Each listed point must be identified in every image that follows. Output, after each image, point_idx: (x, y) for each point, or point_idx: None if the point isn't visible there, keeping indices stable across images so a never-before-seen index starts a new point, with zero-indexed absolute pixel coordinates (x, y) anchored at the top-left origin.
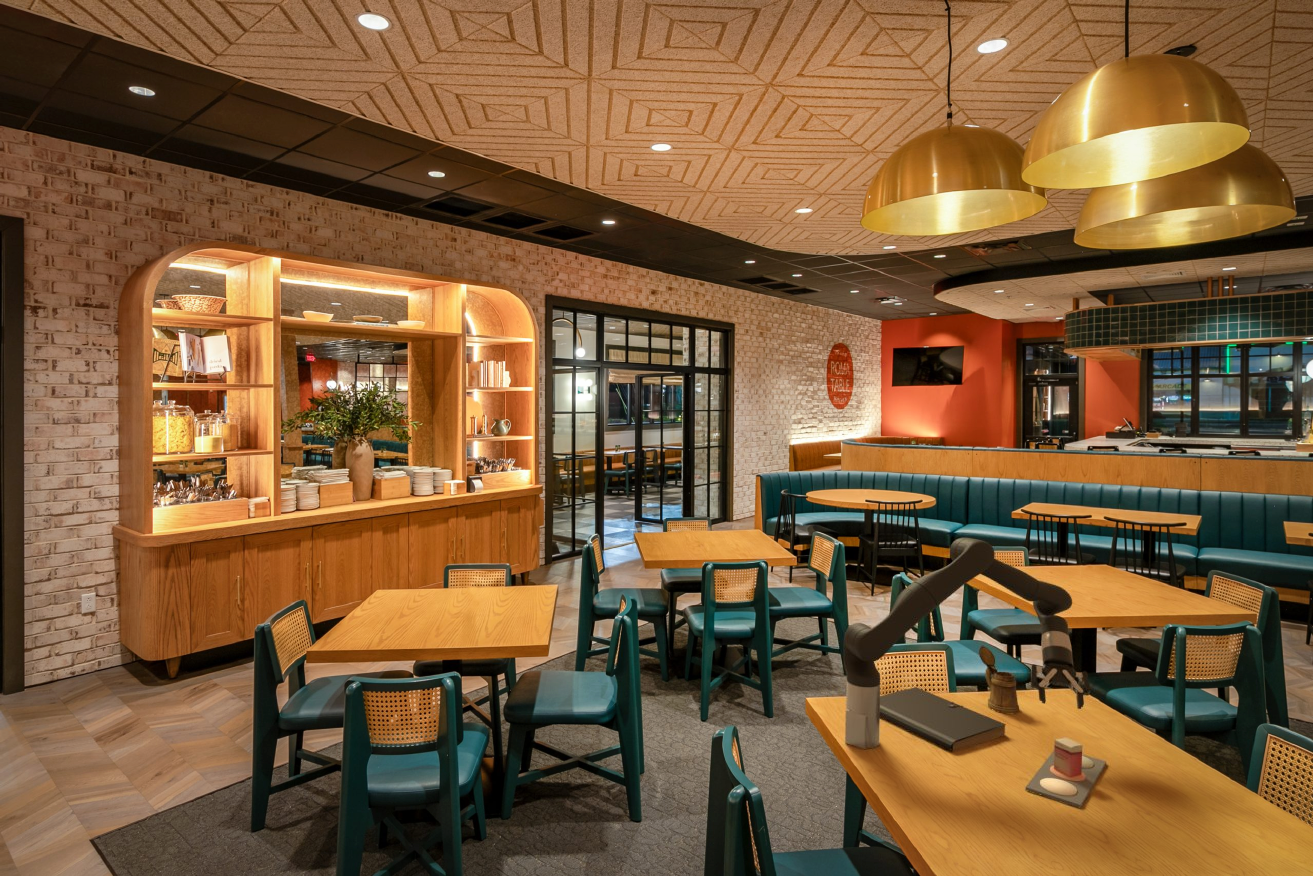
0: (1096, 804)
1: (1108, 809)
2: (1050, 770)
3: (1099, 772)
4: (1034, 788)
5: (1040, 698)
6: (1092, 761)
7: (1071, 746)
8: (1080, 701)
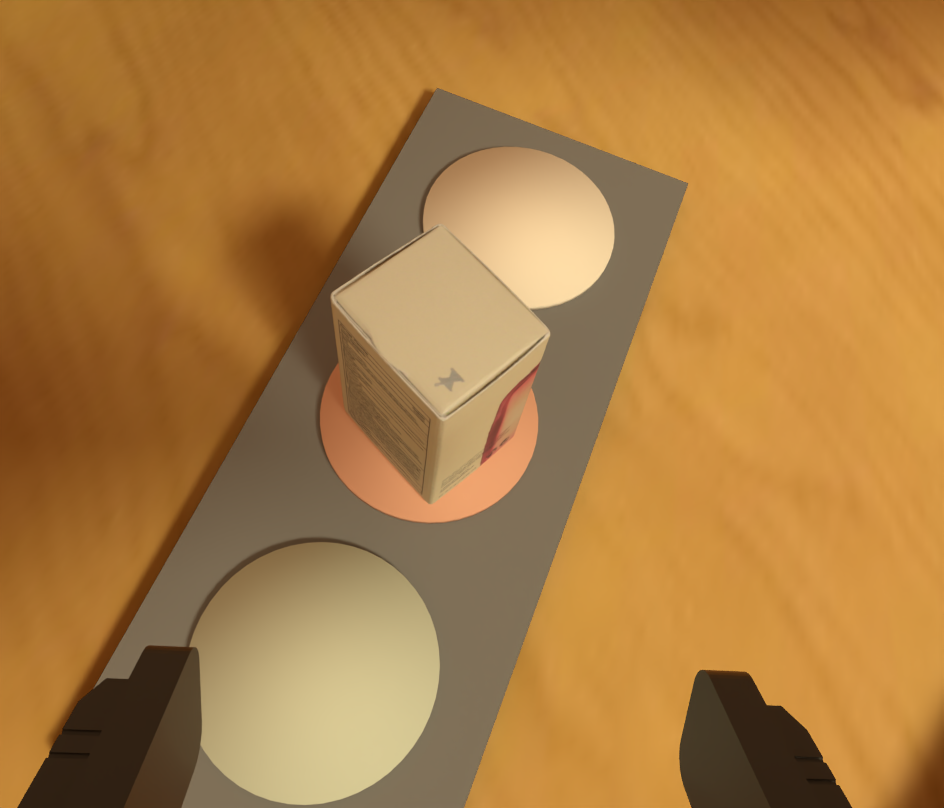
0: (344, 158)
1: (296, 128)
2: (536, 409)
3: (194, 514)
4: (644, 179)
5: (783, 712)
6: None
7: (432, 240)
8: (135, 690)
